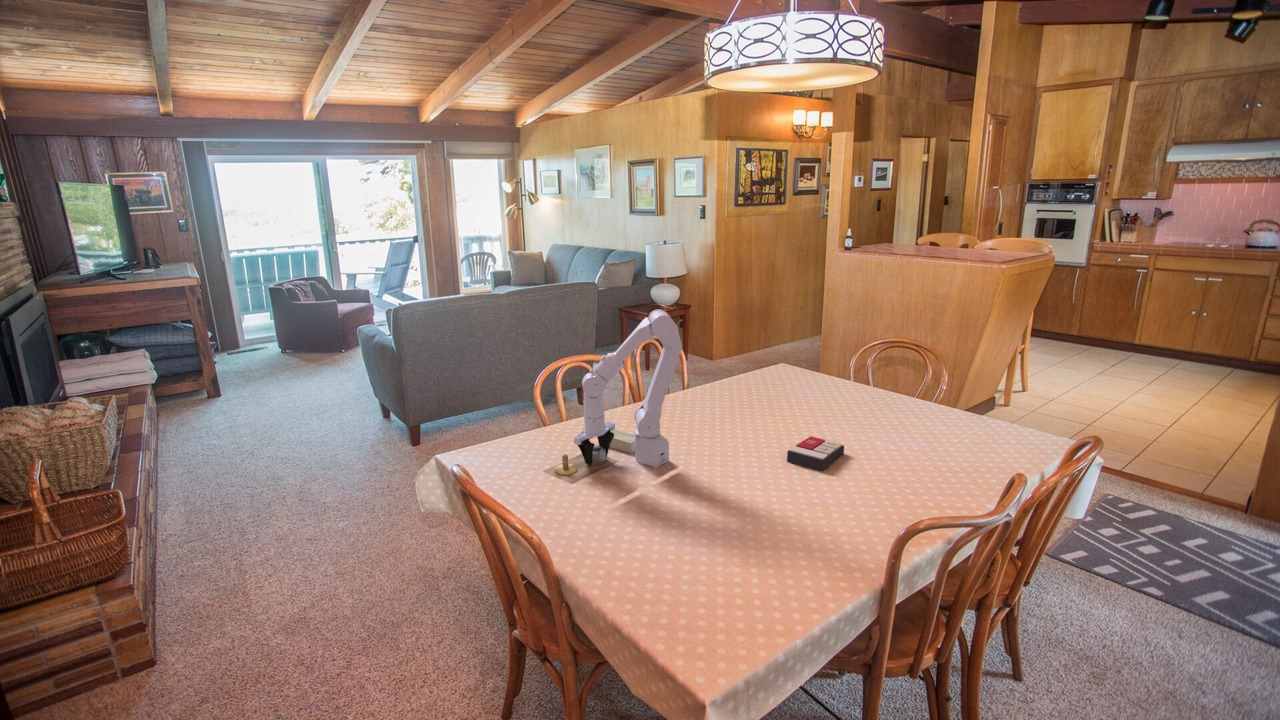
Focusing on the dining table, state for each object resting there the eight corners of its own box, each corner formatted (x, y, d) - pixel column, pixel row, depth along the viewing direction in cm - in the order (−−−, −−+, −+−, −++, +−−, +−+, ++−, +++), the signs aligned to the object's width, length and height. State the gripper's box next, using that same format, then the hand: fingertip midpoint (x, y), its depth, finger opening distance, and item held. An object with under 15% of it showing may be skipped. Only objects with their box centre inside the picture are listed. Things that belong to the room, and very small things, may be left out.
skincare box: (600, 446, 191) (630, 457, 184) (599, 433, 190) (630, 443, 182) (613, 440, 196) (643, 449, 188) (613, 427, 194) (643, 436, 187)
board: (618, 464, 179) (618, 445, 177) (572, 487, 166) (571, 467, 164) (589, 453, 186) (588, 435, 185) (543, 474, 173) (541, 455, 172)
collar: (609, 461, 178) (609, 448, 177) (596, 468, 174) (595, 455, 173) (596, 456, 182) (595, 443, 181) (582, 462, 178) (582, 450, 177)
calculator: (845, 443, 182) (824, 458, 170) (843, 456, 183) (822, 472, 171) (809, 434, 188) (787, 448, 177) (808, 447, 189) (786, 462, 178)
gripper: (602, 405, 182) (603, 448, 186) (565, 419, 171) (567, 464, 175) (619, 410, 177) (621, 454, 181) (583, 425, 167) (585, 471, 171)
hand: (596, 460), depth 178 cm, fingers closed on collar, 5 cm apart
